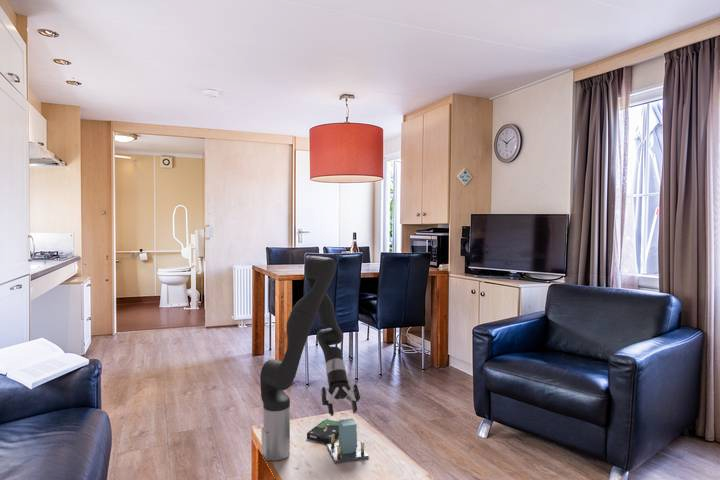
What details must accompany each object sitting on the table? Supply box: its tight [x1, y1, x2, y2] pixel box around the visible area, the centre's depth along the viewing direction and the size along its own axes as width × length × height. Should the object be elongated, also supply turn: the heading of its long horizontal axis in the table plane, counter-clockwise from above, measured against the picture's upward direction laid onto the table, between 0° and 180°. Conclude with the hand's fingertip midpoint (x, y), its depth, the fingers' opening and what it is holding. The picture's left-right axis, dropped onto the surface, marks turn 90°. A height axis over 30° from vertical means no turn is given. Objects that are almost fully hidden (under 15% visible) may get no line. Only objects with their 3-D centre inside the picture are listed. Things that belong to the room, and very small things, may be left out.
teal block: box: [338, 418, 357, 454], centre depth 163 cm, size 5×5×10 cm
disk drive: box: [306, 418, 339, 444], centre depth 178 cm, size 10×3×15 cm
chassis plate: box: [326, 431, 370, 464], centre depth 163 cm, size 12×12×5 cm
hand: (343, 413), depth 167 cm, fingers open, 8 cm apart
